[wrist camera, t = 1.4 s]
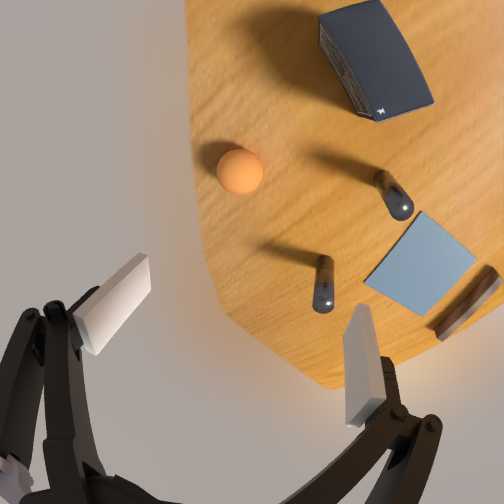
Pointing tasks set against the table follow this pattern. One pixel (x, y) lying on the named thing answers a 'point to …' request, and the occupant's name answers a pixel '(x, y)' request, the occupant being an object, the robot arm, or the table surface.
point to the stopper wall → (469, 305)
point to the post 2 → (394, 196)
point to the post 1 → (324, 285)
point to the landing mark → (421, 266)
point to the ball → (239, 171)
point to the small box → (373, 61)
